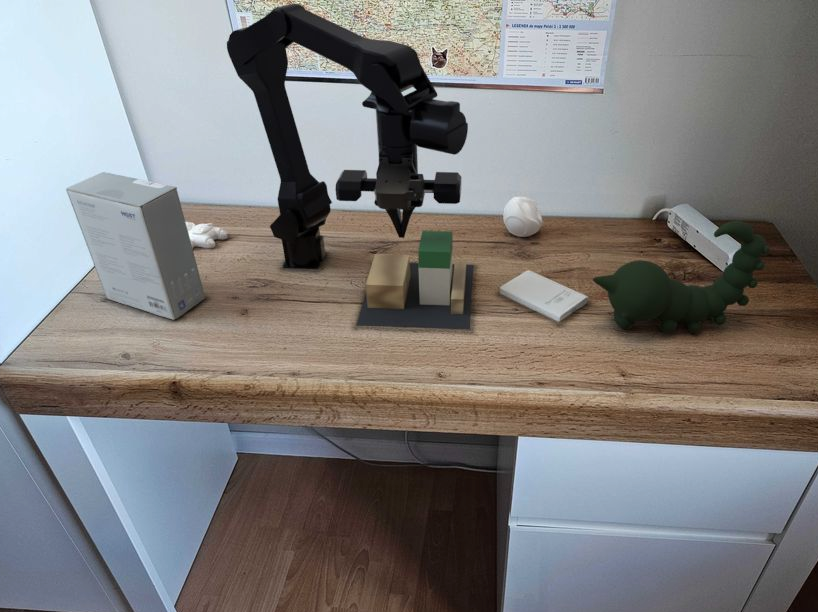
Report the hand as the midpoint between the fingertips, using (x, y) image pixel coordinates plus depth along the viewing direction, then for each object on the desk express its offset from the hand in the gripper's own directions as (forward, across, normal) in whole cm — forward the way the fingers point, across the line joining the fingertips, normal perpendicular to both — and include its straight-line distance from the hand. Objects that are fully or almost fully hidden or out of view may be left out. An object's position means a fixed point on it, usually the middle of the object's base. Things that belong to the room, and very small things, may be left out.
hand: (402, 236), depth 107 cm
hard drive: (+11, +23, 0) cm, 26 cm away
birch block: (+11, -2, 0) cm, 11 cm away
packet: (+11, +3, 0) cm, 11 cm away
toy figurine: (+11, +42, -6) cm, 44 cm away
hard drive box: (+11, -42, -4) cm, 43 cm away
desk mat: (+11, +2, 0) cm, 11 cm away
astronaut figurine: (+11, -43, +17) cm, 47 cm away
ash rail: (+11, +9, 0) cm, 14 cm away
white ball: (+11, +20, +23) cm, 33 cm away
